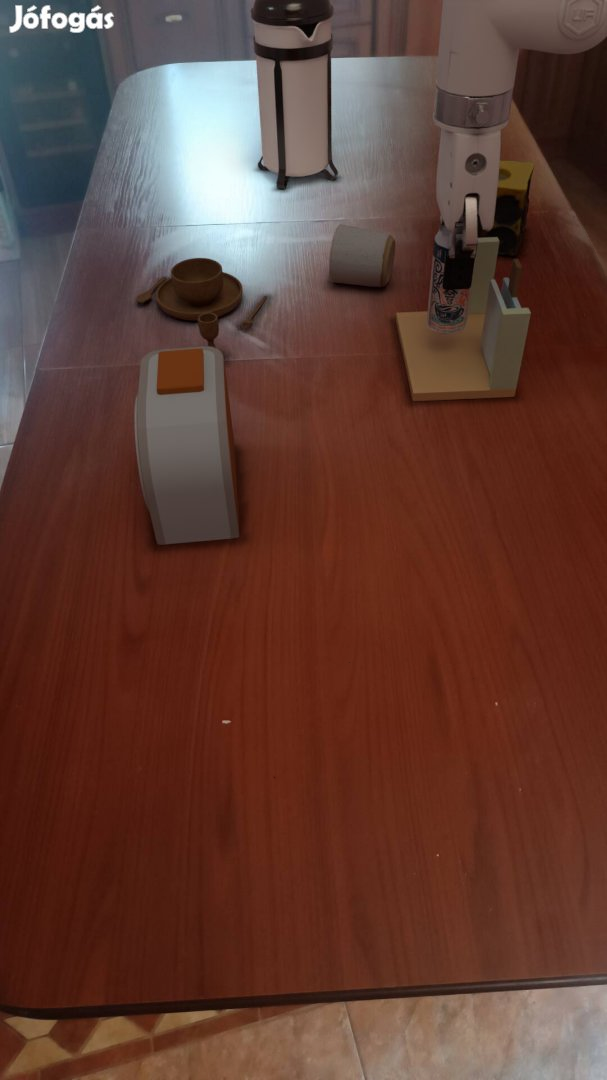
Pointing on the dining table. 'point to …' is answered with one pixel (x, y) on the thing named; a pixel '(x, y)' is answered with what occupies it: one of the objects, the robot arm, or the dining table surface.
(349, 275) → the grey cylinder
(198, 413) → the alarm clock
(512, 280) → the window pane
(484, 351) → the bookend with square base
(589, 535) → the dining table surface
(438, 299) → the beer can
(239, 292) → the place setting
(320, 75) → the coffee press
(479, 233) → the yellow cube with holes
